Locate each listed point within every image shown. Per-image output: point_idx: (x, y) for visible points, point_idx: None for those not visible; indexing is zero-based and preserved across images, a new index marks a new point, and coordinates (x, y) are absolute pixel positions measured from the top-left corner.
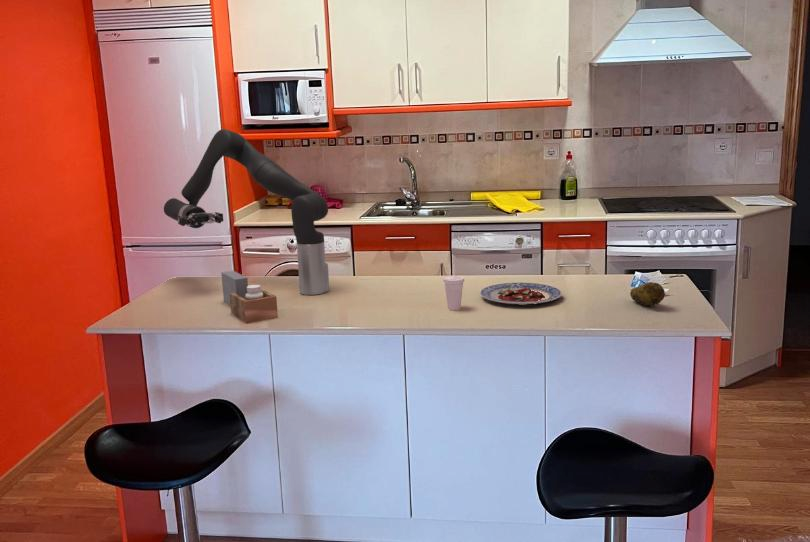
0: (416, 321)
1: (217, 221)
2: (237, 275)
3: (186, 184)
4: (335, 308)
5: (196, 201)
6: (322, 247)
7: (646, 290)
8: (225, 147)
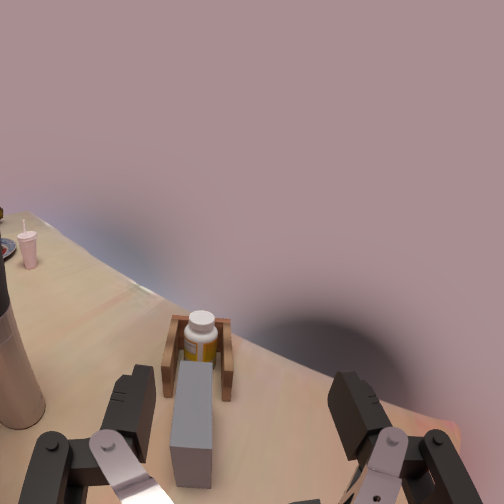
0: (82, 266)
1: (150, 415)
2: (188, 390)
3: None
4: (85, 327)
5: None
6: None
7: (1, 210)
8: None
